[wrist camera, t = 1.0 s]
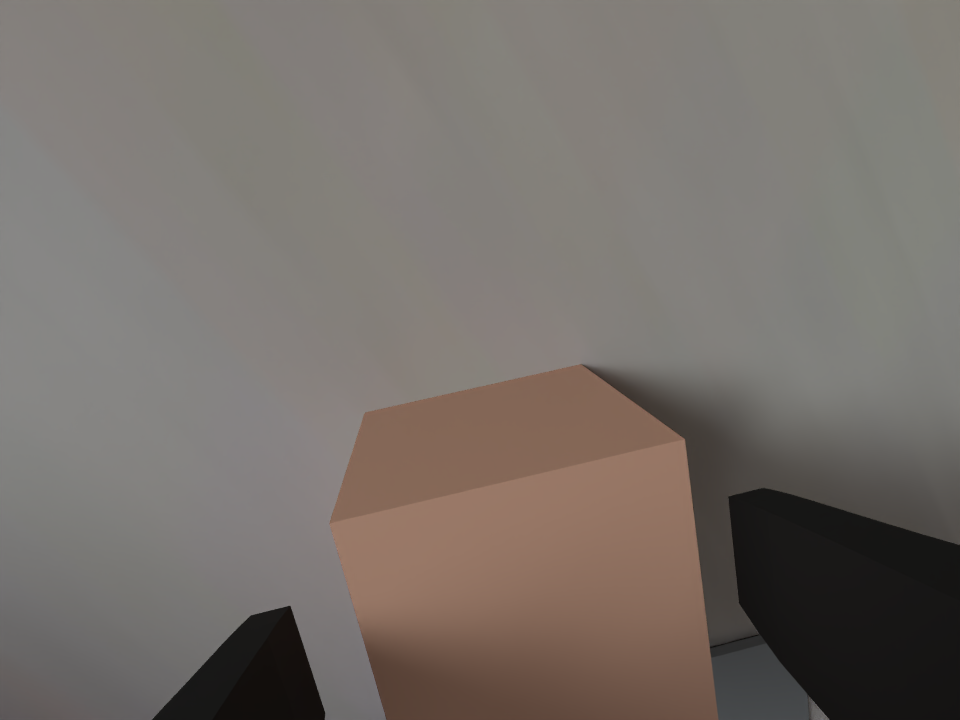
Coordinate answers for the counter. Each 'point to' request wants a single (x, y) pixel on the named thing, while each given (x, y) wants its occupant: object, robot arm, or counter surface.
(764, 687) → the panel
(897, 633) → the robot arm
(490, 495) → the cube
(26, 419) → the counter surface
